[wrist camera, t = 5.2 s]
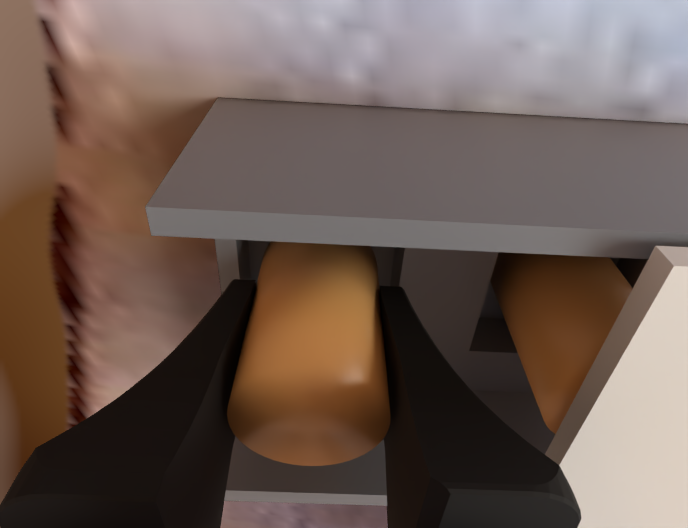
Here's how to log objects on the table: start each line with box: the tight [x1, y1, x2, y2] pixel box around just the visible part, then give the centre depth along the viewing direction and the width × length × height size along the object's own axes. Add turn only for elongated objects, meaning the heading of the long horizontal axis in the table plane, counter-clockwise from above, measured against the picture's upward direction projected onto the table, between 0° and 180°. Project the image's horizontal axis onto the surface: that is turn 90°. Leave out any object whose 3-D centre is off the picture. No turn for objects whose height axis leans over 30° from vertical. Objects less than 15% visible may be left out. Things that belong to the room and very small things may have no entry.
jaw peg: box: [227, 241, 390, 466], centre depth 13 cm, size 4×4×6 cm
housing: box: [145, 98, 688, 506], centre depth 14 cm, size 10×14×6 cm
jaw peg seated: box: [490, 252, 633, 434], centre depth 14 cm, size 4×4×6 cm
